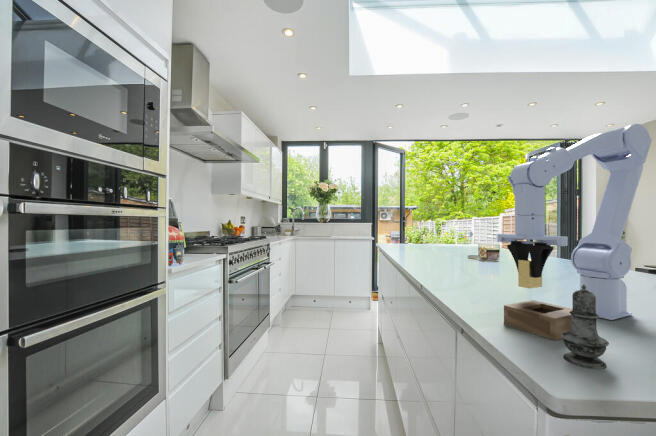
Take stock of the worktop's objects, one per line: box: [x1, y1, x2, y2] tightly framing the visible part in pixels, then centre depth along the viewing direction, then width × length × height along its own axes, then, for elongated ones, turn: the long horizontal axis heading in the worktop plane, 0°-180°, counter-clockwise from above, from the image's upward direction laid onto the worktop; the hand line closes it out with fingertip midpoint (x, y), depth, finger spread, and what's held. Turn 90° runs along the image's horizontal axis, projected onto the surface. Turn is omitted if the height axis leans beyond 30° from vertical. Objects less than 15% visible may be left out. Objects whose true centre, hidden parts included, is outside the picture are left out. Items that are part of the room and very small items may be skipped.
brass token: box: [517, 258, 543, 289], centre depth 72 cm, size 4×2×6 cm, turn 115°
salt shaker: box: [561, 285, 610, 370], centre depth 50 cm, size 6×6×12 cm
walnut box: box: [503, 299, 573, 341], centre depth 65 cm, size 10×10×4 cm
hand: (529, 276), depth 72 cm, fingers closed on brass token, 2 cm apart
